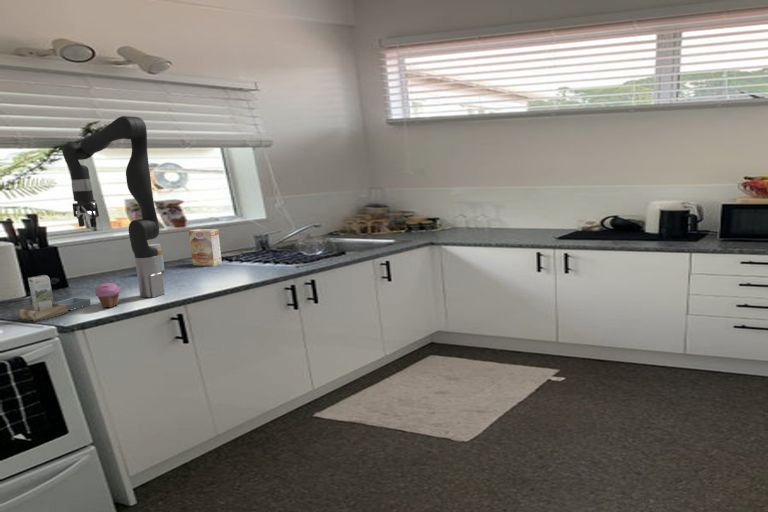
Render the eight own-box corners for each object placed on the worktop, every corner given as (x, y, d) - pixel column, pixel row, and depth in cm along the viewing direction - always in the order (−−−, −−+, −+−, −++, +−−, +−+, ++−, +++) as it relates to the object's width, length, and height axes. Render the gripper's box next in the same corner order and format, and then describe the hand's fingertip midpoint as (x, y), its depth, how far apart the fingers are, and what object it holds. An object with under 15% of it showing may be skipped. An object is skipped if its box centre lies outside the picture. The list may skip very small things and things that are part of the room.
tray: (67, 313, 204) (66, 304, 203) (36, 321, 194) (35, 312, 193) (50, 310, 209) (49, 301, 209) (19, 318, 199) (18, 309, 199)
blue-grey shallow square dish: (90, 304, 215) (89, 299, 215) (66, 311, 206) (65, 305, 206) (76, 302, 220) (75, 297, 219) (51, 309, 211) (50, 303, 211)
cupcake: (112, 310, 206) (108, 285, 204) (92, 309, 207) (88, 285, 205) (126, 303, 214) (123, 280, 212) (108, 303, 216) (104, 280, 214)
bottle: (150, 274, 271) (146, 246, 268) (150, 272, 278) (146, 244, 275) (164, 273, 274) (161, 244, 271) (164, 270, 280) (161, 243, 277)
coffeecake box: (192, 265, 292) (188, 230, 288) (201, 262, 299) (197, 228, 295) (213, 266, 287) (210, 230, 283) (222, 263, 293) (218, 229, 289)
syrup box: (50, 310, 206) (44, 274, 203) (55, 312, 202) (49, 276, 199) (33, 313, 202) (27, 277, 199) (38, 316, 198) (32, 279, 195)
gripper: (64, 190, 228) (69, 227, 231) (84, 190, 221) (89, 228, 224) (80, 189, 235) (86, 225, 238) (100, 189, 228) (106, 225, 231)
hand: (87, 226), depth 231 cm, fingers open, 8 cm apart
